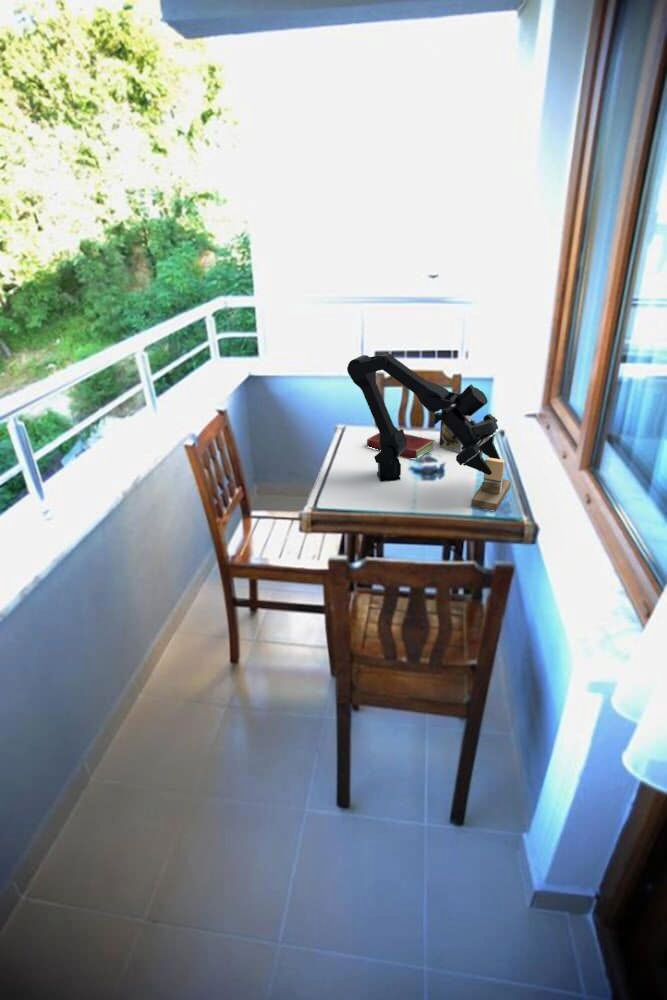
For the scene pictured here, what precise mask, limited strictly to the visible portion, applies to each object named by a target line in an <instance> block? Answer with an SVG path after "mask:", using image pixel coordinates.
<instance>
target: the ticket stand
mask: <svg viewBox="0 0 667 1000" xmlns="http://www.w3.org/2000/svg"><path fill="white" fill-rule="evenodd" d="M511 484H512V480H510V479H509V480H508V479H505V478H503V480H502V482H498V481H492V480H487V479H483V480H482V482H481V485H480V487H479V488H478V490H476V492H475V493H474V495H473V496H472V497H471V499H470V501H471V503H470V507H471V508H475V509H480V510H484V509H487V510H486V511H489V510H494V511H496V510H497V511H498V509H499V508H500V506H501V504H502V503H501V502H503V501H504V499H505V498H504V497H506V496H507V494H508V493H509V491H510V489H511ZM507 492H508V493H507ZM502 500H503V501H502ZM499 505H500V506H499ZM498 507H499V508H498ZM497 508H498V509H497ZM494 511H493V512H494ZM497 511H496V512H497Z"/></svg>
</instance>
